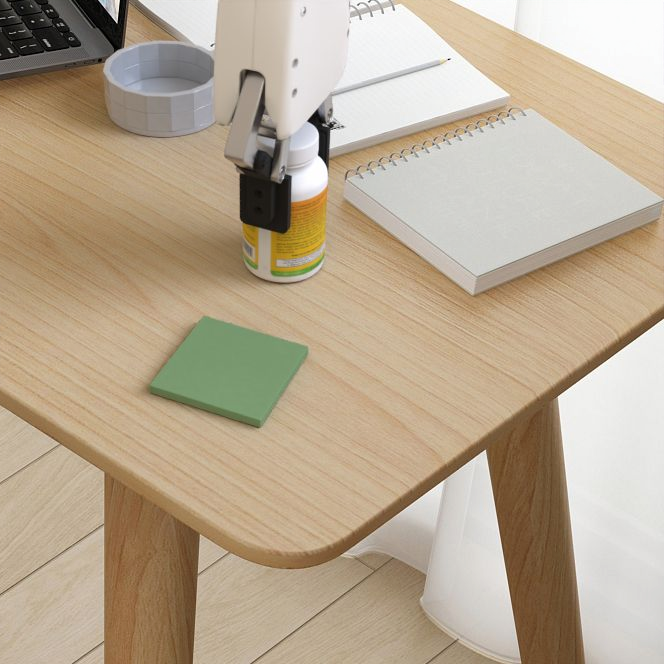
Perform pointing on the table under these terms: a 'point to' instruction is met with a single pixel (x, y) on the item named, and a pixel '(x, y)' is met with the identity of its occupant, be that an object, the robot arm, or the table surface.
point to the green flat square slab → (230, 371)
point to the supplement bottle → (293, 216)
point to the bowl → (160, 88)
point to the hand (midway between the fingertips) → (285, 198)
